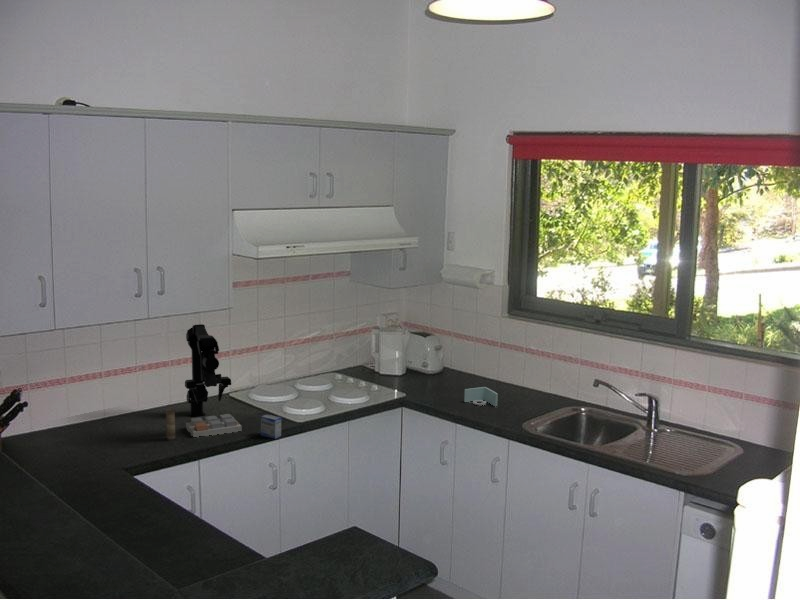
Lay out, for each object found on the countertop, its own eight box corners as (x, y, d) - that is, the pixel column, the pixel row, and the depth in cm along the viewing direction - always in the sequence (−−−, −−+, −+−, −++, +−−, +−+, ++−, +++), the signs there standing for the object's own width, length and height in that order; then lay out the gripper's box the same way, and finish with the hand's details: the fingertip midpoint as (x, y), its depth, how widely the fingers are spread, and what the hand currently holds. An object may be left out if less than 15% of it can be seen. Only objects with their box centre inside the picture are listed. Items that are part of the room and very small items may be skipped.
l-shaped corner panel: (463, 403, 412) (464, 389, 411) (484, 401, 417) (485, 386, 416) (475, 410, 402) (476, 396, 400) (497, 408, 407) (497, 393, 405)
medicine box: (260, 435, 357) (260, 416, 356) (266, 432, 361) (266, 413, 359) (275, 439, 354) (275, 419, 352) (281, 436, 357) (281, 416, 356)
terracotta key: (194, 428, 357) (194, 423, 356) (204, 427, 359) (204, 421, 358) (197, 432, 353) (196, 426, 353) (207, 430, 355) (207, 425, 355)
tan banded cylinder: (165, 438, 350) (165, 409, 348) (174, 437, 352) (173, 408, 349) (167, 441, 347) (167, 411, 345) (176, 440, 349) (175, 410, 346)
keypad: (186, 428, 363) (186, 418, 362) (232, 422, 373) (232, 412, 372) (193, 438, 352) (193, 427, 351) (241, 431, 361) (241, 421, 361)
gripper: (188, 371, 341) (189, 408, 343) (233, 368, 349) (234, 404, 351) (184, 366, 351) (185, 402, 353) (227, 363, 359) (228, 398, 361)
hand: (208, 402), depth 354 cm, fingers open, 9 cm apart
